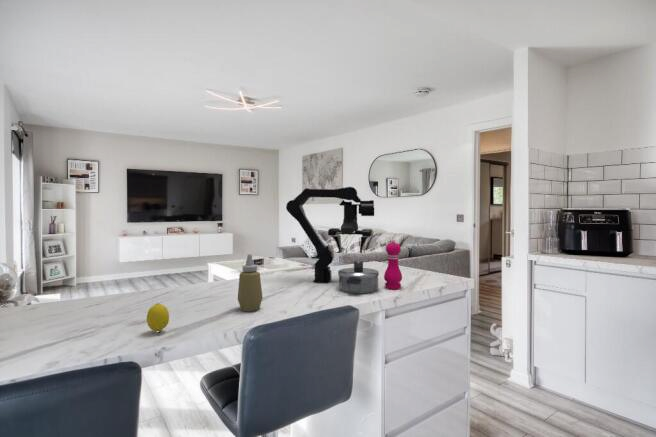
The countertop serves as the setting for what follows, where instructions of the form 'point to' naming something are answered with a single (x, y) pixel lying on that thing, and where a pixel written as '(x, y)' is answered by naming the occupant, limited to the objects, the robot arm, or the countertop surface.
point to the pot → (358, 285)
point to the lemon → (157, 317)
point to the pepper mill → (393, 266)
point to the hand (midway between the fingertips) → (350, 252)
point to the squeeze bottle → (249, 287)
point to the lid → (358, 271)
